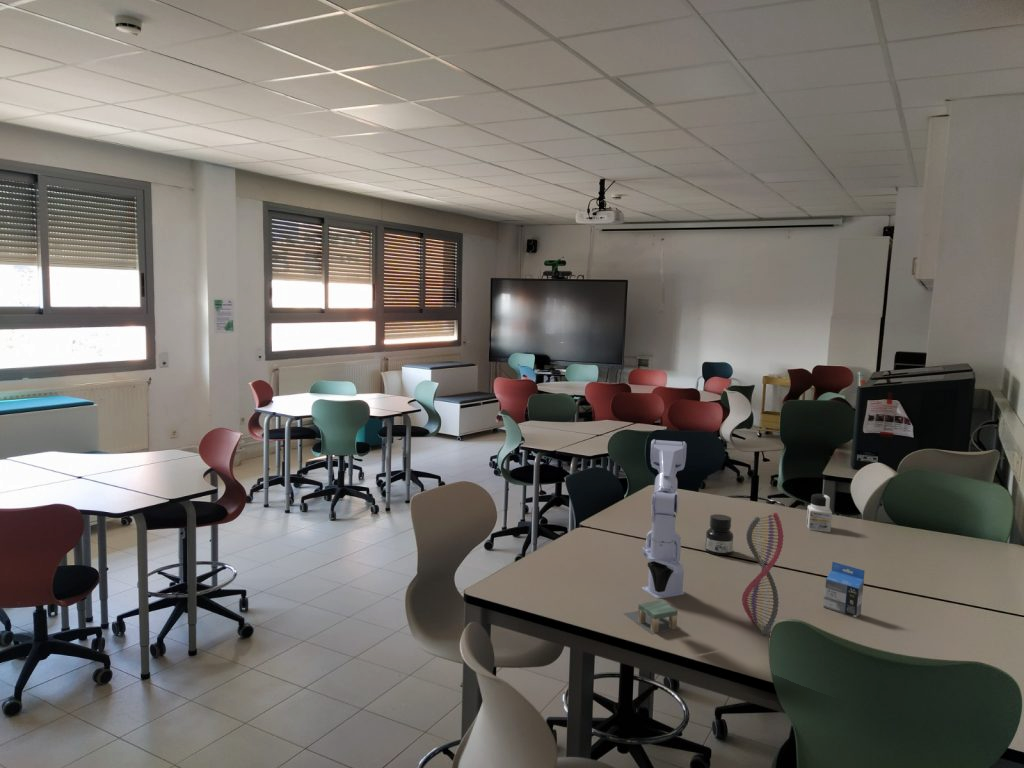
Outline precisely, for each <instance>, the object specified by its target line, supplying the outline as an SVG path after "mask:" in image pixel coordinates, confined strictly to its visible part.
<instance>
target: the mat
mask: <svg viewBox="0 0 1024 768" xmlns="http://www.w3.org/2000/svg"><path fill="white" fill-rule="evenodd" d="M623 615H624V616H625V617H627V618H628V619H630V620H631V621H633V622H634V623H636V624H637V625H638V626H640V627H641V628H643V629H644V630H645V631H647V633H649V634H651V635H655V634H656V635H657V634H660V633H666V632H671V631H676V630H681V629H682V628H681V627H679V626H678V625H677V628H675V629H671V628H670V627H669V618H667V617H666V618H663V619H661V620H659V629H658V632H652V631H651V630H650V629H651V617H650V616H649V615H647V614H646V619H645V623H640V622H638V610H635V611H630V612H624V613H623Z"/></svg>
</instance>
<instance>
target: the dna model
mask: <svg viewBox="0 0 1024 768" xmlns="http://www.w3.org/2000/svg"><path fill="white" fill-rule="evenodd" d="M772 517H773V518H772ZM766 518H767V519H766ZM781 522H782V521H781V520H780V516H779V514H778V513H777V512H776V511H773V512H772V514H767V516H765V517H759V516H755V517H754V519H752V521H751V522H750V524H749V526H748V527H747V531H746V535H745V536H746V543H747V545H748V548H749V550H750V552H751V553H752V555H753V557H754V558H755V560H756V561H757V563H758V565H759V567H761V571H760V573H759V574H757V576H756V577H755V578H754V579H753V580H752V581H750V583H748V585H747V587H746V588H745V589H744V591H743V592H742V597H741V603H742V607H743V610H744V611H745V613H746V615H747V616H748V618H749V619H750V621H751V622H752V623H754V624H755V625H756V626H758V627H759V629H760V630H761V634H762V636H766V635H768V632H770V630H771V629H772V626H773V625H774V623H775V619H776V618H777V615H778V611H779V603H780V602H779V593H778V590H777V589H778V588H777V586H776V583H775V581H774V579H773V576H772V574H771V572H770V571H771V569H772V568H774V567H773V566H775V565H776V562H777V561H778V559H779V556H780V555H781V552H782V548H784V547H783V545H784V542H783V541H784V531H783V527H782V526H783V525H782V523H781ZM774 530H777V531H774ZM756 537H757V538H756ZM776 537H778V538H776ZM759 540H760V541H759ZM775 540H776V541H775ZM762 541H763V542H762ZM773 543H774V544H773ZM764 550H765V551H764ZM774 550H775V551H774ZM772 553H773V554H772ZM764 577H765V578H764ZM765 580H767V581H765ZM767 583H768V584H767ZM767 586H770V587H767ZM769 589H771V590H769ZM759 590H760V591H759ZM761 590H762V591H761ZM768 593H772V594H768ZM767 596H772V597H767ZM764 599H766V600H764ZM764 602H766V603H764ZM770 603H773V604H770ZM765 605H766V606H765ZM769 606H770V607H769ZM771 606H772V607H771ZM767 609H768V610H767ZM771 610H772V611H771ZM763 611H764V612H763ZM766 612H767V613H766ZM760 613H761V614H760ZM769 613H770V614H769ZM763 614H764V615H763ZM768 616H769V617H768ZM766 619H767V620H766ZM764 621H765V622H764ZM763 624H764V625H765V626H764V625H763Z"/></svg>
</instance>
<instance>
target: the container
mask: <svg viewBox="0 0 1024 768" xmlns="http://www.w3.org/2000/svg"><path fill="white" fill-rule="evenodd" d="M830 502H831V497H830V496H829V495H827V494H823V493H813V494H812V495H811V496H810V504H808V505H807V510H806V511H807V513H806V526H807V528H808V529H807V530H809V531H817V532H824V533H825V532H826V533H830V532H831V530H832V519H833V518H832V517H833V512H832V510H831V508H830V505H831V503H830Z"/></svg>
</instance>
